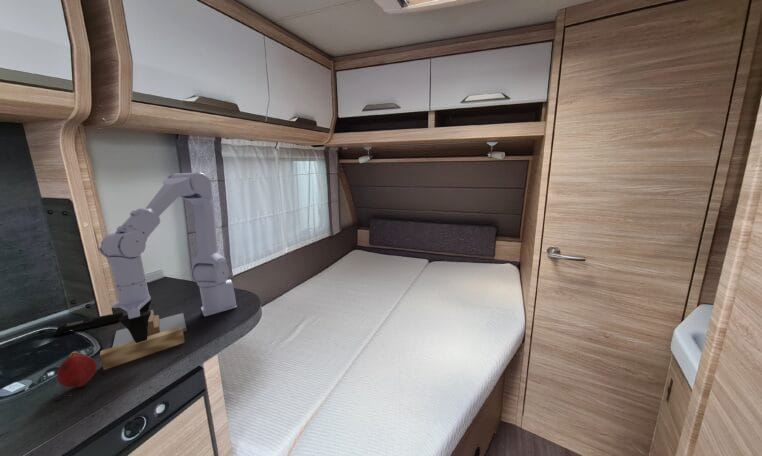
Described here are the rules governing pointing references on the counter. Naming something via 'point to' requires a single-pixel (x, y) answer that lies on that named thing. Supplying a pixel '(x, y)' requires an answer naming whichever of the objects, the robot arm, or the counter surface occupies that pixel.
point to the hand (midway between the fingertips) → (142, 334)
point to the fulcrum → (152, 327)
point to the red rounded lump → (76, 370)
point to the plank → (141, 347)
